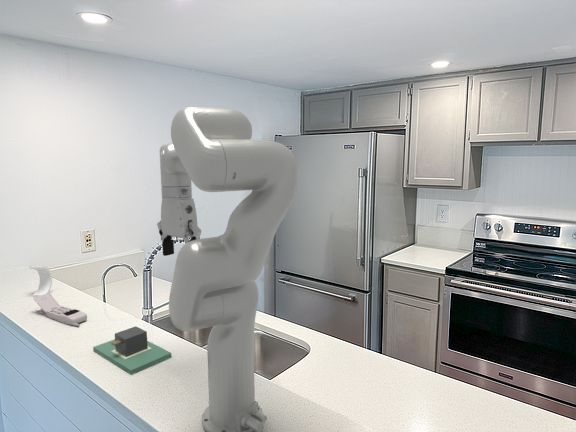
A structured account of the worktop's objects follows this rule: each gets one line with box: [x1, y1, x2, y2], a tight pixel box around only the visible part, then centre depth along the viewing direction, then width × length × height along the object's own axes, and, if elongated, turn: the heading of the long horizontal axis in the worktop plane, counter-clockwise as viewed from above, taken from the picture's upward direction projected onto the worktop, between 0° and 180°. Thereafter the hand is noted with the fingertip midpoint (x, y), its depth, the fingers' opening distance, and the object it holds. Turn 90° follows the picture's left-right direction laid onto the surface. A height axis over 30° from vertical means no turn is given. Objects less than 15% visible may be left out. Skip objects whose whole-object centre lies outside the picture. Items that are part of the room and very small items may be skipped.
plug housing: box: [111, 326, 148, 357], centre depth 116 cm, size 6×8×5 cm, turn 140°
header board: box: [92, 338, 172, 375], centre depth 117 cm, size 20×12×4 cm, turn 50°
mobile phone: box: [32, 293, 88, 327], centre depth 143 cm, size 6×6×25 cm
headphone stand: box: [29, 265, 53, 298], centre depth 165 cm, size 5×6×12 cm
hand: (179, 257), depth 111 cm, fingers open, 9 cm apart
